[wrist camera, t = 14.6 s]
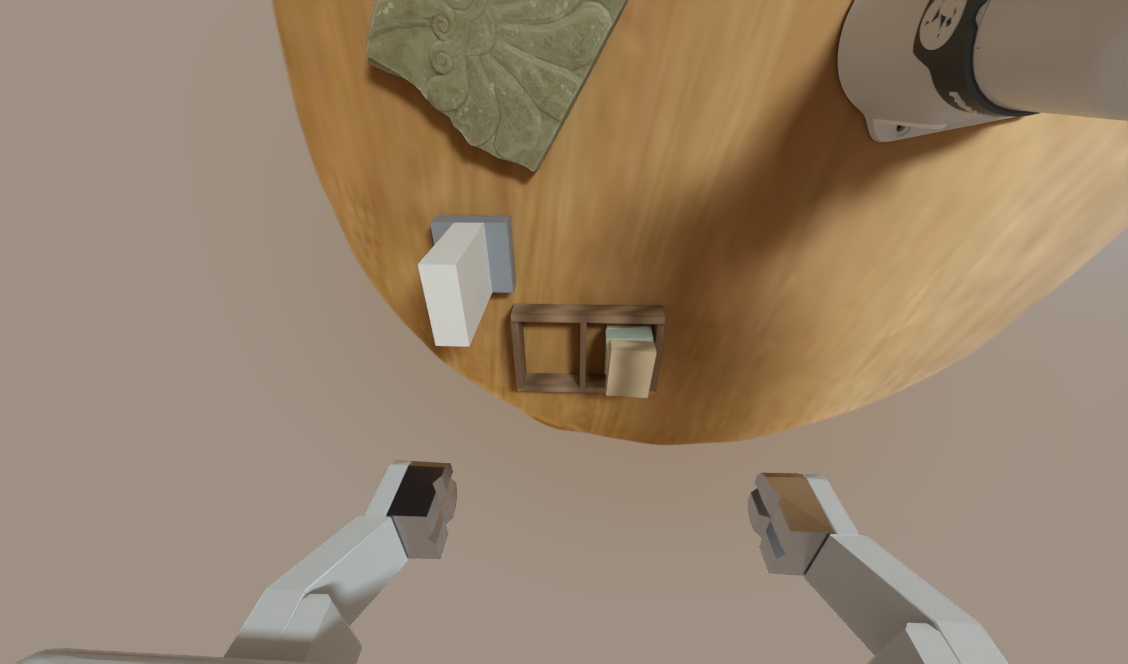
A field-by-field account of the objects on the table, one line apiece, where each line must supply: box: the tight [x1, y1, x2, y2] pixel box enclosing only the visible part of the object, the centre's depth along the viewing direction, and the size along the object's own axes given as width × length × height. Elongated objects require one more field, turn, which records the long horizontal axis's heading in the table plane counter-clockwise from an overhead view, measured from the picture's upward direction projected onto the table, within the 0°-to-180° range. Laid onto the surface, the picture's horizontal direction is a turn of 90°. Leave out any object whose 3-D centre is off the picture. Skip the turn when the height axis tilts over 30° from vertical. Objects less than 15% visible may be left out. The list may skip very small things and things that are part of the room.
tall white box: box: [418, 223, 492, 346], centre depth 44 cm, size 4×9×12 cm, turn 0°
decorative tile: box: [366, 0, 628, 172], centre depth 38 cm, size 19×20×4 cm
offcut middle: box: [606, 328, 653, 374], centre depth 56 cm, size 6×8×2 cm
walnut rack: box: [510, 304, 666, 394], centre depth 57 cm, size 20×13×4 cm, turn 91°
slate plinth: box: [430, 216, 516, 293], centre depth 50 cm, size 9×9×2 cm
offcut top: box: [605, 339, 657, 398], centre depth 54 cm, size 6×8×2 cm
